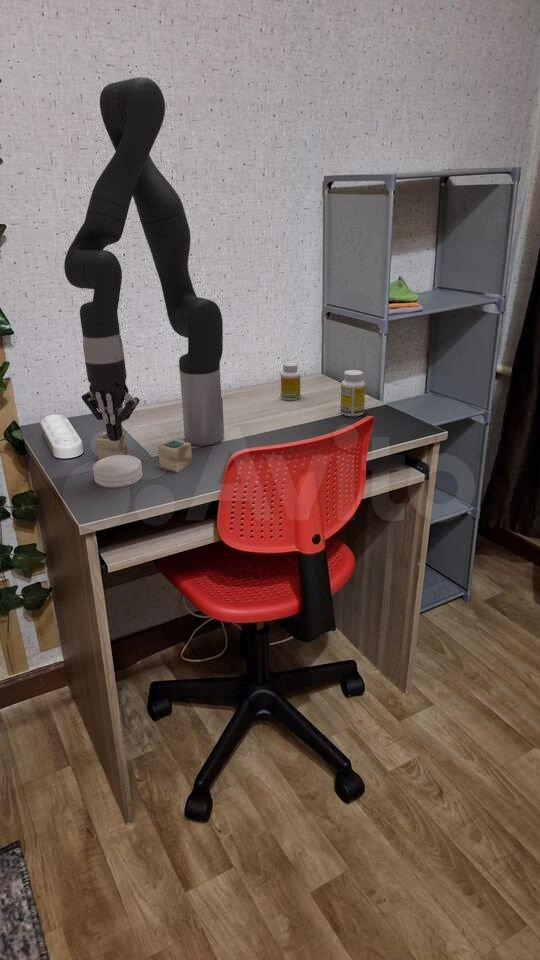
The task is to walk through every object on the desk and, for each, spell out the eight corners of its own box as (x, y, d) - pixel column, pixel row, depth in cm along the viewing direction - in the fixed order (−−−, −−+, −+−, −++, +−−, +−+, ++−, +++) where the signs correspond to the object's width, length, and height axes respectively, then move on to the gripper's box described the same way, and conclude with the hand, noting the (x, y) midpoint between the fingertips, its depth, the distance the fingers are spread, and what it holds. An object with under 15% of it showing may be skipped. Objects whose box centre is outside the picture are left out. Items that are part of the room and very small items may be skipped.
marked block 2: (175, 459, 150) (173, 437, 148) (192, 464, 148) (190, 442, 145) (159, 467, 146) (157, 444, 144) (177, 472, 144) (175, 449, 142)
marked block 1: (107, 452, 155) (104, 430, 153) (127, 453, 154) (125, 431, 152) (98, 460, 150) (95, 438, 148) (119, 461, 150) (117, 439, 147)
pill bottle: (363, 409, 179) (365, 369, 174) (364, 417, 173) (366, 375, 168) (340, 409, 179) (341, 368, 175) (340, 416, 174) (341, 375, 169)
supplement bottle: (300, 400, 186) (300, 366, 182) (281, 401, 186) (280, 366, 182) (299, 394, 191) (300, 361, 187) (281, 395, 191) (280, 361, 187)
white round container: (124, 465, 148) (123, 450, 147) (152, 477, 142) (150, 462, 140) (85, 479, 142) (83, 464, 140) (112, 493, 135) (110, 477, 134)
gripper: (143, 355, 131) (152, 437, 139) (89, 349, 136) (100, 429, 144) (121, 365, 125) (131, 450, 133) (64, 359, 130) (77, 441, 138)
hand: (115, 439), depth 138 cm, fingers closed
